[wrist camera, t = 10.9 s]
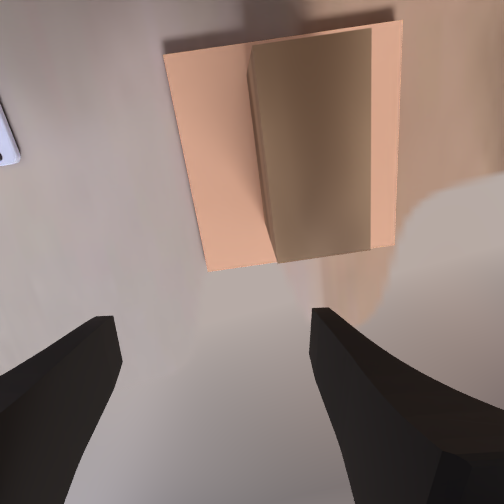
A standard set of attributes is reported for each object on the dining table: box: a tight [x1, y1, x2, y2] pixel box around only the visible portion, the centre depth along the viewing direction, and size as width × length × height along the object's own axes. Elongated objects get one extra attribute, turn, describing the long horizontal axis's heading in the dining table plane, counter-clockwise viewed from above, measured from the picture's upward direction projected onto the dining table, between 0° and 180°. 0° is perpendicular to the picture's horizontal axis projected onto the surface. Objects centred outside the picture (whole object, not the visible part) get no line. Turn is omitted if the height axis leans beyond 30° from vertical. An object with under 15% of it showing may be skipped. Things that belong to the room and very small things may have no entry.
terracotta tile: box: [163, 20, 403, 272], centre depth 18 cm, size 12×12×1 cm
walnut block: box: [246, 28, 372, 263], centre depth 15 cm, size 4×8×6 cm, turn 8°
